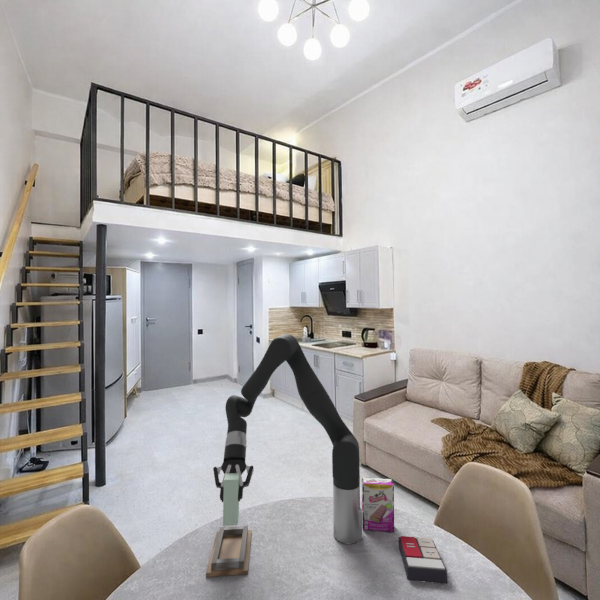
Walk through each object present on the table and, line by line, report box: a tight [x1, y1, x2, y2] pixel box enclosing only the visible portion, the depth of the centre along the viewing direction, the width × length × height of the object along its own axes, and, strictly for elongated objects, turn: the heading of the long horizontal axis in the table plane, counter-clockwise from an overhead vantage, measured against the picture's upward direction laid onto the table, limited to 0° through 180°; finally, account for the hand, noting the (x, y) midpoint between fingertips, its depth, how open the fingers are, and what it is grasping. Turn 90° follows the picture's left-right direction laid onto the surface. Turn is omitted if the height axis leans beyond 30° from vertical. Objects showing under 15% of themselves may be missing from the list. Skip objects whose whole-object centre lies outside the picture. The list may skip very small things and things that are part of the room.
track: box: [205, 525, 253, 578], centre depth 105 cm, size 12×19×3 cm, turn 5°
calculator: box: [398, 535, 448, 585], centre depth 100 cm, size 11×4×15 cm
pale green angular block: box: [222, 473, 240, 527], centre depth 106 cm, size 4×4×14 cm
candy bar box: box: [361, 477, 395, 533], centre depth 118 cm, size 11×5×16 cm, turn 84°
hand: (230, 500), depth 104 cm, fingers closed on pale green angular block, 4 cm apart
